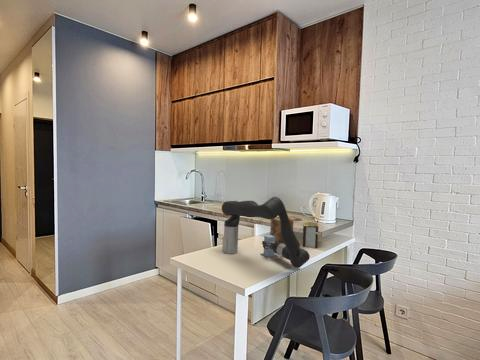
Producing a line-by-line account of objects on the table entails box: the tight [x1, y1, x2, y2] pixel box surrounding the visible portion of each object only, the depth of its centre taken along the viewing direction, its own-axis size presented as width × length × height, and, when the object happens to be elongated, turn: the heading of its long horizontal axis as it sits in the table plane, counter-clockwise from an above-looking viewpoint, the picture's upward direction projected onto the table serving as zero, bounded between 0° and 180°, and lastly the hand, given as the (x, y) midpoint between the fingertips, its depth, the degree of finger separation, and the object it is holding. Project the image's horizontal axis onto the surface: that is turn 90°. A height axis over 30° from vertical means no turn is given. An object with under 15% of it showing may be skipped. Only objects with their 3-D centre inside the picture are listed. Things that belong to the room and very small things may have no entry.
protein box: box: [302, 221, 319, 249], centre depth 205 cm, size 10×15×16 cm
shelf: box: [269, 215, 303, 249], centre depth 191 cm, size 18×11×22 cm, turn 116°
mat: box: [260, 252, 279, 259], centre depth 177 cm, size 8×8×1 cm
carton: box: [263, 234, 276, 256], centre depth 176 cm, size 5×5×12 cm
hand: (267, 242), depth 179 cm, fingers open, 6 cm apart
